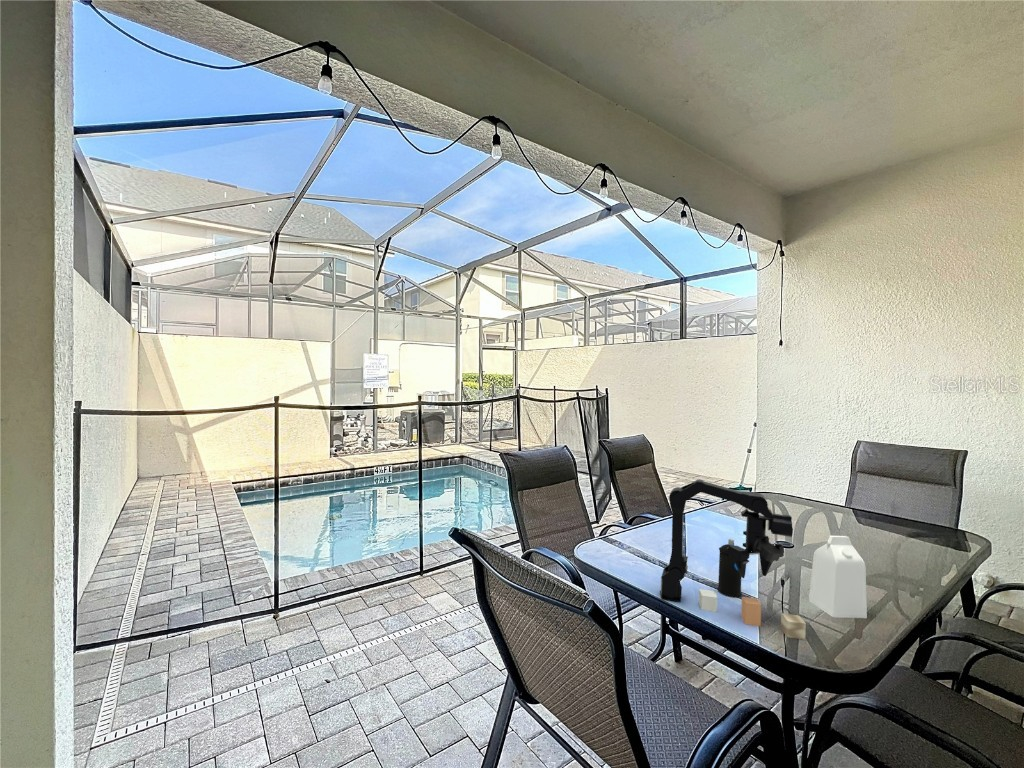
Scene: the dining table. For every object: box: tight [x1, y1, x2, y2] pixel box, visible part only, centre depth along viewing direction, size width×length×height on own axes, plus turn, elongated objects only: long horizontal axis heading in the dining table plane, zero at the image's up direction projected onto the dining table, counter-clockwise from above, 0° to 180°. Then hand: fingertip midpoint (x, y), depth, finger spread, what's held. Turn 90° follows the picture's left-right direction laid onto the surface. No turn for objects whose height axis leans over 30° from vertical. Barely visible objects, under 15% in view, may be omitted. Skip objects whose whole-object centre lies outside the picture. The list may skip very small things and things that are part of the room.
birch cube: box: [780, 612, 807, 641], centre depth 135 cm, size 5×5×5 cm
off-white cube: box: [698, 588, 718, 613], centre depth 150 cm, size 5×5×5 cm
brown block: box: [740, 596, 762, 627], centre depth 142 cm, size 4×4×7 cm
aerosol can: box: [717, 538, 742, 598], centre depth 162 cm, size 8×8×20 cm
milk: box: [808, 535, 868, 619], centre depth 153 cm, size 12×12×26 cm
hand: (753, 576), depth 145 cm, fingers open, 9 cm apart
